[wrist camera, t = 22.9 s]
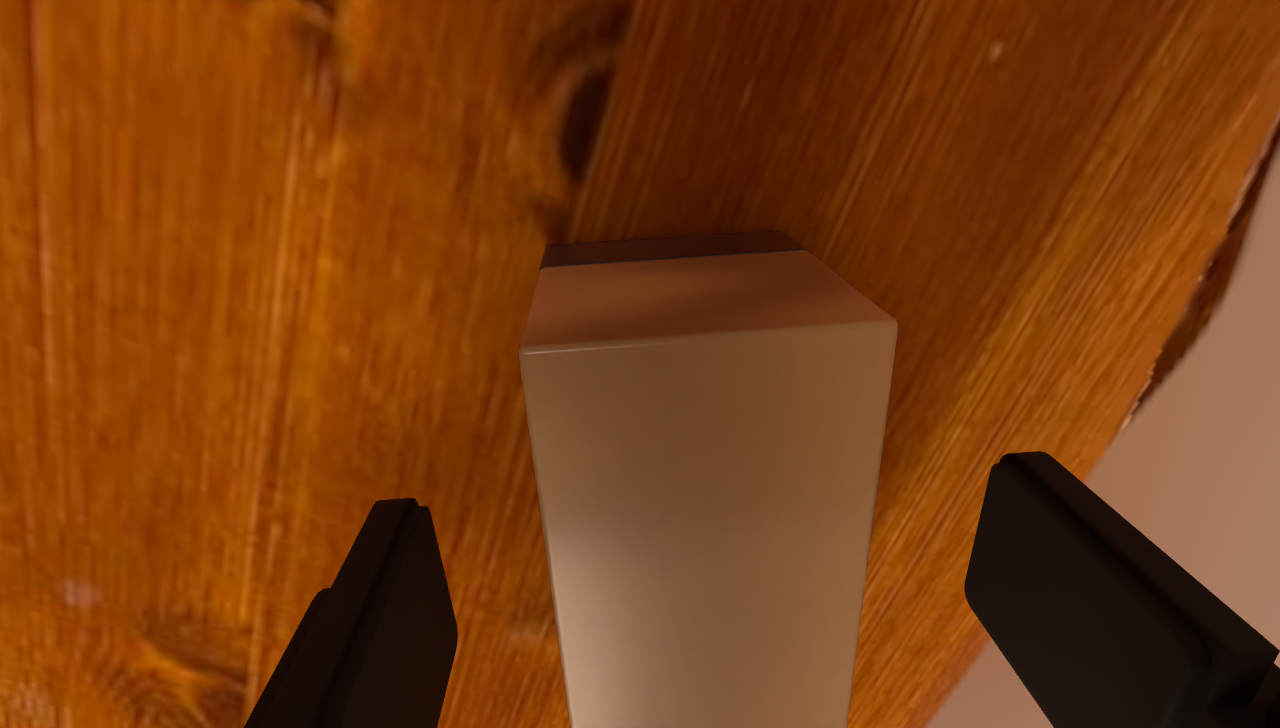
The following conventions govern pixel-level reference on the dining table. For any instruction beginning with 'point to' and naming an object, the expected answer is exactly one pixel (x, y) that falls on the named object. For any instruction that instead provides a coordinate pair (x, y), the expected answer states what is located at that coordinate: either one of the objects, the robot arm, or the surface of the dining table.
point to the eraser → (705, 476)
